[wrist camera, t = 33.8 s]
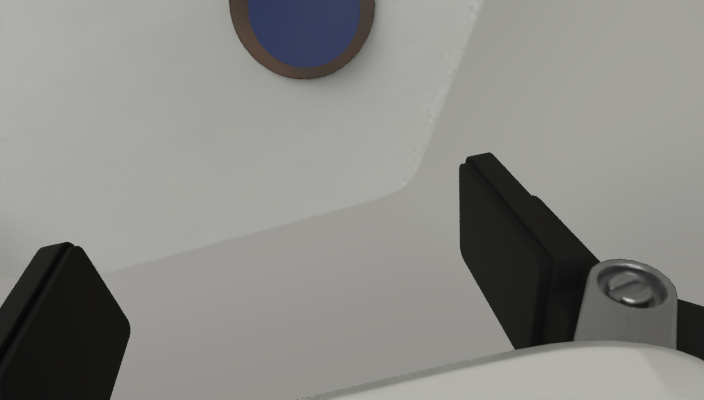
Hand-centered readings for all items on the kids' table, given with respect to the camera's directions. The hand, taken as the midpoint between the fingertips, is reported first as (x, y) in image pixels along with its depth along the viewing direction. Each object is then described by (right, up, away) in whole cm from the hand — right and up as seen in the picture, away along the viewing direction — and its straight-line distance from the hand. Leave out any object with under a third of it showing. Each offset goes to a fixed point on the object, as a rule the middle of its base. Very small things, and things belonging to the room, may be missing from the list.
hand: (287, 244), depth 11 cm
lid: (-1, +12, +16) cm, 20 cm away
